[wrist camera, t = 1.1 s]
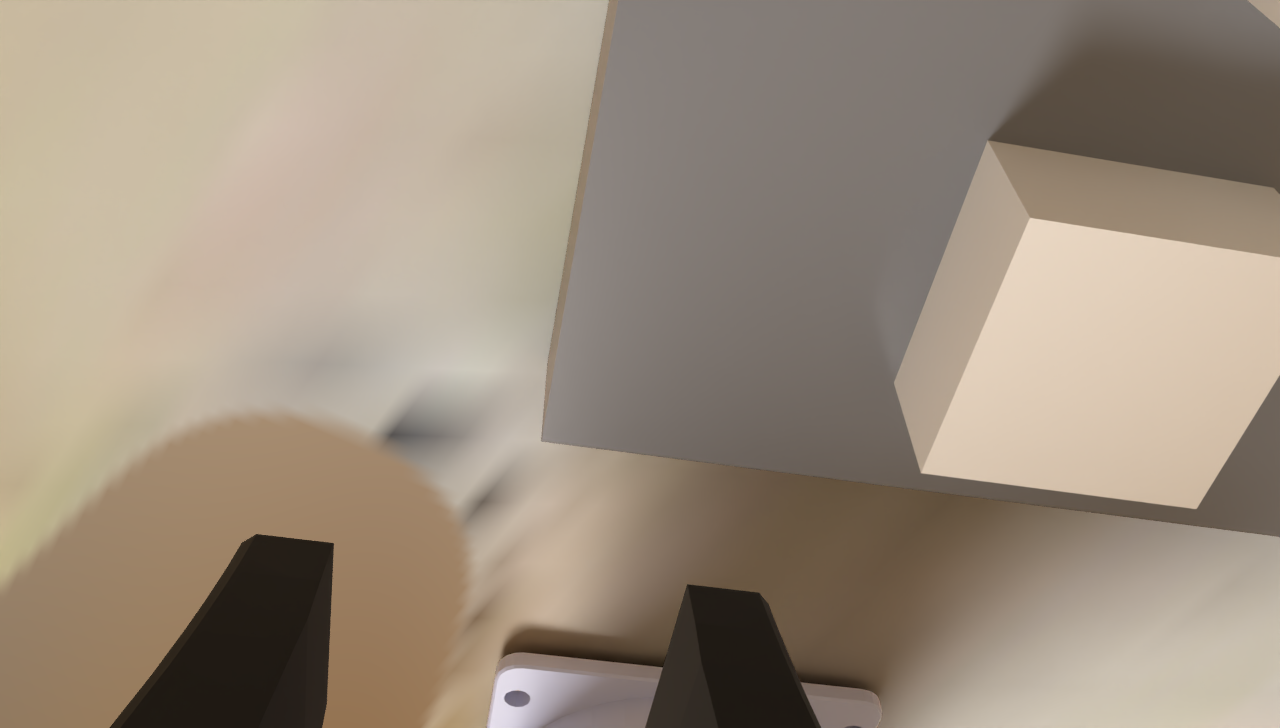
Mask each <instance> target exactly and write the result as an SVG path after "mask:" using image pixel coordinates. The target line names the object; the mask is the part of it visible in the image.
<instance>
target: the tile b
mask: <svg viewBox="0 0 1280 728" xmlns="http://www.w3.org/2000/svg"><path fill="white" fill-rule="evenodd" d="M1248 1H1249V2H1250V3H1251V4H1252V5H1253V6H1255V7H1256V8H1257V9H1258V10H1259V11H1260V12H1262V13H1263V14H1264V15H1265V16H1266V17H1268V18H1269V19H1270V20H1271V21H1272V22H1273V23H1275V24H1276V25H1277V26H1278V27H1279V28H1280V0H1248Z"/></svg>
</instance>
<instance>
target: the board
mask: <svg viewBox="0 0 1280 728" xmlns="http://www.w3.org/2000/svg"><path fill="white" fill-rule="evenodd" d="M988 140H989V141H995V142H1001V143H1007V144H1013V145H1019V146H1025V147H1031V148H1037V149H1043V150H1049V151H1055V152H1061V153H1067V154H1073V155H1079V156H1085V157H1091V158H1097V159H1103V160H1109V161H1115V162H1121V163H1127V164H1133V165H1139V166H1145V167H1151V168H1157V169H1163V170H1169V171H1175V172H1181V173H1187V174H1193V175H1200V176H1206V177H1212V178H1218V179H1224V180H1230V181H1236V182H1242V183H1248V184H1254V185H1260V186H1266V187H1272V188H1274V189H1275V190H1276V191H1277V192H1278V193H1279V194H1280V28H1279V27H1278V26H1277V25H1276V24H1275V23H1273V22H1272V21H1271V20H1270V19H1269V18H1268V17H1266V16H1265V15H1264V14H1263V13H1262V12H1260V11H1259V10H1258V9H1257V8H1256V7H1255V6H1253V5H1252V4H1251V3H1250V2H1249V1H1248V0H609V4H608V10H607V16H606V22H605V28H604V34H603V40H602V45H601V51H600V57H599V63H598V69H597V75H596V81H595V87H594V92H593V98H592V104H591V110H590V116H589V122H588V128H587V134H586V140H585V145H584V151H583V157H582V163H581V169H580V175H579V181H578V187H577V192H576V198H575V204H574V210H573V216H572V222H571V228H570V234H569V240H568V245H567V251H566V257H565V263H564V269H563V275H562V281H561V287H560V292H559V298H558V304H557V310H556V316H555V322H554V328H553V334H552V340H551V345H550V351H549V357H548V363H547V375H546V388H545V400H544V413H543V425H542V438H541V441H542V442H550V443H558V444H565V445H573V446H581V447H589V448H596V449H604V450H612V451H620V452H627V453H635V454H643V455H651V456H658V457H666V458H674V459H682V460H689V461H697V462H705V463H713V464H720V465H728V466H736V467H744V468H751V469H759V470H767V471H775V472H782V473H790V474H798V475H806V476H813V477H821V478H829V479H837V480H844V481H852V482H860V483H868V484H875V485H883V486H891V487H899V488H906V489H914V490H922V491H930V492H937V493H945V494H953V495H961V496H968V497H976V498H984V499H992V500H999V501H1007V502H1015V503H1023V504H1030V505H1038V506H1046V507H1054V508H1061V509H1069V510H1077V511H1085V512H1092V513H1100V514H1108V515H1116V516H1123V517H1131V518H1139V519H1147V520H1154V521H1162V522H1170V523H1177V524H1185V525H1193V526H1201V527H1208V528H1216V529H1224V530H1232V531H1239V532H1247V533H1255V534H1263V535H1270V536H1278V537H1280V375H1279V377H1278V379H1277V380H1276V382H1275V383H1274V385H1273V387H1272V388H1271V390H1270V392H1269V393H1268V395H1267V396H1266V398H1265V400H1264V401H1263V403H1262V404H1261V406H1260V408H1259V409H1258V411H1257V412H1256V414H1255V416H1254V417H1253V419H1252V420H1251V422H1250V424H1249V425H1248V427H1247V429H1246V430H1245V432H1244V433H1243V435H1242V437H1241V438H1240V440H1239V441H1238V443H1237V445H1236V446H1235V448H1234V449H1233V451H1232V453H1231V454H1230V456H1229V457H1228V459H1227V461H1226V462H1225V464H1224V465H1223V467H1222V469H1221V470H1220V472H1219V474H1218V475H1217V477H1216V478H1215V480H1214V482H1213V483H1212V485H1211V486H1210V488H1209V490H1208V491H1207V493H1206V494H1205V496H1204V498H1203V499H1202V501H1201V502H1200V504H1199V506H1198V507H1197V509H1191V508H1183V507H1176V506H1168V505H1161V504H1153V503H1145V502H1138V501H1130V500H1122V499H1115V498H1107V497H1099V496H1092V495H1084V494H1076V493H1069V492H1061V491H1054V490H1046V489H1038V488H1031V487H1023V486H1015V485H1008V484H1000V483H992V482H985V481H977V480H969V479H962V478H954V477H947V476H939V475H931V474H924V473H921V472H920V468H919V465H918V462H917V458H916V455H915V452H914V448H913V445H912V442H911V438H910V435H909V432H908V428H907V425H906V422H905V418H904V415H903V412H902V408H901V405H900V402H899V398H898V395H897V392H896V388H895V385H894V381H895V379H896V376H897V374H898V371H899V369H900V366H901V363H902V361H903V358H904V356H905V353H906V350H907V348H908V345H909V343H910V340H911V337H912V335H913V332H914V330H915V327H916V325H917V322H918V319H919V317H920V314H921V312H922V309H923V306H924V304H925V301H926V299H927V296H928V293H929V291H930V288H931V286H932V283H933V281H934V278H935V275H936V273H937V270H938V268H939V265H940V262H941V260H942V257H943V255H944V252H945V249H946V247H947V244H948V242H949V239H950V237H951V234H952V231H953V229H954V226H955V224H956V221H957V218H958V216H959V213H960V211H961V208H962V205H963V203H964V200H965V198H966V195H967V193H968V190H969V187H970V185H971V182H972V180H973V177H974V174H975V172H976V169H977V167H978V164H979V161H980V159H981V156H982V154H983V151H984V149H985V146H986V143H987V141H988Z"/></svg>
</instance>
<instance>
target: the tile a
mask: <svg viewBox="0 0 1280 728" xmlns="http://www.w3.org/2000/svg"><path fill="white" fill-rule="evenodd" d="M1279 375H1280V194H1279V193H1278V192H1277V191H1276V190H1275V189H1274V188H1272V187H1266V186H1260V185H1254V184H1248V183H1242V182H1236V181H1230V180H1224V179H1218V178H1212V177H1206V176H1200V175H1193V174H1187V173H1181V172H1175V171H1169V170H1163V169H1157V168H1151V167H1145V166H1139V165H1133V164H1127V163H1121V162H1115V161H1109V160H1103V159H1097V158H1091V157H1085V156H1079V155H1073V154H1067V153H1061V152H1055V151H1049V150H1043V149H1037V148H1031V147H1025V146H1019V145H1013V144H1007V143H1001V142H995V141H989V140H988V141H987V143H986V146H985V149H984V151H983V154H982V156H981V159H980V161H979V164H978V167H977V169H976V172H975V174H974V177H973V180H972V182H971V185H970V187H969V190H968V193H967V195H966V198H965V200H964V203H963V205H962V208H961V211H960V213H959V216H958V218H957V221H956V224H955V226H954V229H953V231H952V234H951V237H950V239H949V242H948V244H947V247H946V249H945V252H944V255H943V257H942V260H941V262H940V265H939V268H938V270H937V273H936V275H935V278H934V281H933V283H932V286H931V288H930V291H929V293H928V296H927V299H926V301H925V304H924V306H923V309H922V312H921V314H920V317H919V319H918V322H917V325H916V327H915V330H914V332H913V335H912V337H911V340H910V343H909V345H908V348H907V350H906V353H905V356H904V358H903V361H902V363H901V366H900V369H899V371H898V374H897V376H896V379H895V381H894V385H895V388H896V392H897V395H898V398H899V402H900V405H901V408H902V412H903V415H904V418H905V422H906V425H907V428H908V432H909V435H910V438H911V442H912V445H913V448H914V452H915V455H916V458H917V462H918V465H919V468H920V472H921V473H924V474H931V475H939V476H947V477H954V478H962V479H969V480H977V481H985V482H992V483H1000V484H1008V485H1015V486H1023V487H1031V488H1038V489H1046V490H1054V491H1061V492H1069V493H1076V494H1084V495H1092V496H1099V497H1107V498H1115V499H1122V500H1130V501H1138V502H1145V503H1153V504H1161V505H1168V506H1176V507H1183V508H1191V509H1197V507H1198V506H1199V504H1200V502H1201V501H1202V499H1203V498H1204V496H1205V494H1206V493H1207V491H1208V490H1209V488H1210V486H1211V485H1212V483H1213V482H1214V480H1215V478H1216V477H1217V475H1218V474H1219V472H1220V470H1221V469H1222V467H1223V465H1224V464H1225V462H1226V461H1227V459H1228V457H1229V456H1230V454H1231V453H1232V451H1233V449H1234V448H1235V446H1236V445H1237V443H1238V441H1239V440H1240V438H1241V437H1242V435H1243V433H1244V432H1245V430H1246V429H1247V427H1248V425H1249V424H1250V422H1251V420H1252V419H1253V417H1254V416H1255V414H1256V412H1257V411H1258V409H1259V408H1260V406H1261V404H1262V403H1263V401H1264V400H1265V398H1266V396H1267V395H1268V393H1269V392H1270V390H1271V388H1272V387H1273V385H1274V383H1275V382H1276V380H1277V379H1278V377H1279Z"/></svg>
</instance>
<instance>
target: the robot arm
mask: <svg viewBox="0 0 1280 728" xmlns="http://www.w3.org/2000/svg"><path fill="white" fill-rule="evenodd" d="M333 549H334V544H333V543H328V542H319V541H310V540H302V539H293V538H285V537H276V536H268V535H258V534H256V535H254V536H253V537H251V538H249V539H248V540H246V541H244V542H242V544H241V545H240V547H239V549H238V550H237V552H236V554H235V555H234V557H233V559H232V560H231V562H230V564H229V565H228V567H227V569H226V570H225V572H224V573H223V575H222V576H221V578H220V579H219V581H218V582H217V584H216V585H215V587H214V588H213V590H212V591H211V593H210V595H209V596H208V598H207V599H206V600H205V602H204V603H203V605H202V606H201V608H200V609H199V611H198V612H197V613H196V615H195V616H194V618H193V619H192V621H191V622H190V623H189V625H188V626H187V628H186V629H185V630H184V632H183V633H182V635H181V636H180V637H179V639H178V640H177V641H176V643H175V644H174V645H173V647H172V648H171V649H170V651H169V652H168V653H167V655H166V656H165V658H164V659H163V660H162V662H161V663H160V664H159V666H158V667H157V668H156V670H155V671H154V672H153V674H152V675H151V676H150V678H149V679H148V680H147V681H146V683H145V684H144V685H143V686H142V688H141V689H140V690H139V692H138V693H137V694H136V695H135V697H134V698H133V699H132V700H131V702H130V703H129V704H128V705H127V707H126V708H125V709H124V710H123V712H122V713H121V714H120V715H119V717H118V718H117V719H116V720H115V722H114V723H113V724H112V725H111V727H110V728H322V725H323V720H324V714H325V710H326V704H327V684H328V661H329V639H330V616H331V595H332V571H333ZM515 690H520V691H515ZM881 719H882V709H881V704H880V700H879V698H878V696H877V695H876V694H874V693H873V692H871V691H868V690H864V689H858V688H849V687H840V686H830V685H821V684H812V683H803V682H800V680H799V678H798V675H797V673H796V671H795V668H794V666H793V664H792V661H791V659H790V657H789V654H788V652H787V650H786V647H785V645H784V642H783V640H782V637H781V635H780V633H779V630H778V628H777V625H776V623H775V620H774V618H773V615H772V613H771V610H770V607H769V605H768V603H767V602H766V601H765V600H764V598H763V597H762V596H761V595H760V593H756V592H748V591H739V590H730V589H722V588H713V587H705V586H696V585H688V584H687V588H686V591H685V594H684V598H683V601H682V604H681V608H680V611H679V615H678V618H677V621H676V625H675V628H674V632H673V635H672V638H671V642H670V645H669V648H668V652H667V655H666V659H665V662H664V665H663V667H655V666H646V665H636V664H627V663H618V662H609V661H599V660H590V659H581V658H572V657H562V656H553V655H544V654H535V653H525V652H519V653H512V654H509V655H506V656H505V657H503V658H502V659H501V660H499V662H498V664H497V667H496V673H495V679H494V685H493V690H492V696H491V702H490V708H489V714H488V720H487V726H486V728H877V727H878V725H879V723H880V721H881Z"/></svg>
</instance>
